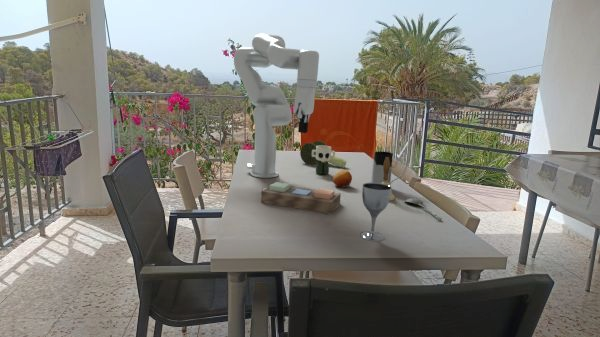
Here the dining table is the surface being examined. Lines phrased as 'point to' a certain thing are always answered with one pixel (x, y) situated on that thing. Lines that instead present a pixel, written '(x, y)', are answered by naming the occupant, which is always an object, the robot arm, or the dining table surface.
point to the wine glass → (375, 205)
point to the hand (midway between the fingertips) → (302, 132)
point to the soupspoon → (420, 202)
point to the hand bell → (386, 169)
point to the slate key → (301, 192)
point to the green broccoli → (307, 154)
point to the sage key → (279, 187)
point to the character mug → (323, 158)
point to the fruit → (342, 178)
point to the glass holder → (378, 167)
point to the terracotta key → (324, 193)
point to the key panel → (301, 200)
